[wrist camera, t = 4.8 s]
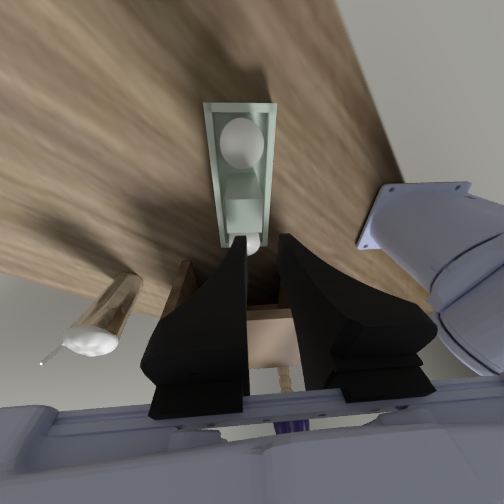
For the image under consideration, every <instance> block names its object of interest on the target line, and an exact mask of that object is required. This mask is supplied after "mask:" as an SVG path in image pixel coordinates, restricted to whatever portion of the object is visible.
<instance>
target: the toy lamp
mask: <svg viewBox="0 0 504 504" xmlns="http://www.w3.org/2000/svg"><path fill="white" fill-rule="evenodd" d="M278 374H279V376H280V378H279V383H280V387H281V393H288V392H293V391H292V389H291V386H292V385H291V384H292V383H291V379H290V377H289V367H288V366H286V367H278ZM273 424H274V428H275V432H276V435H279V434H286V433H293V432H302V431H310V430H309V419H305V420H294V421H283V422H273Z"/></svg>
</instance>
